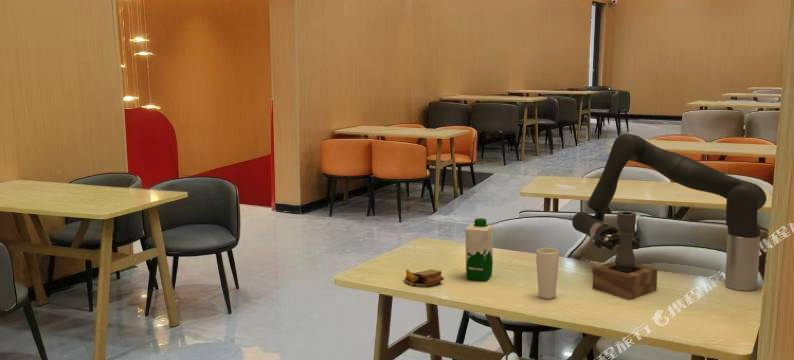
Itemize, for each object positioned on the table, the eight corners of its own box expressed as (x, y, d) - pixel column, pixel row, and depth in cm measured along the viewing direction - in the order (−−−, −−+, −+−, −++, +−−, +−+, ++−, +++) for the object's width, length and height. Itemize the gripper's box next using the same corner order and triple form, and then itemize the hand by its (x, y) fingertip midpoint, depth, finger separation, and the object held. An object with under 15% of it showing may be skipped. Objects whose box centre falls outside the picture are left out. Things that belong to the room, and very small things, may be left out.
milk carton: (494, 275, 241) (494, 219, 238) (488, 283, 233) (488, 224, 229) (470, 272, 244) (470, 217, 241) (463, 280, 236) (462, 223, 233)
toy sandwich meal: (431, 274, 244) (431, 261, 244) (449, 285, 232) (448, 271, 231) (398, 279, 240) (398, 266, 239) (415, 291, 227) (414, 277, 227)
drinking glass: (545, 301, 213) (546, 254, 211) (531, 295, 219) (532, 249, 217) (562, 297, 216) (563, 251, 214) (548, 291, 222) (549, 246, 220)
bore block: (619, 279, 232) (620, 259, 231) (656, 290, 221) (657, 269, 220) (592, 288, 224) (592, 267, 223) (629, 299, 213) (630, 277, 212)
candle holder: (635, 292, 219) (638, 215, 215) (615, 292, 220) (617, 215, 216) (633, 286, 225) (635, 211, 221) (613, 285, 226) (615, 211, 222)
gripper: (584, 224, 236) (603, 236, 220) (625, 222, 237) (646, 234, 221) (584, 246, 237) (603, 259, 221) (624, 244, 238) (646, 256, 222)
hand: (624, 246), depth 221 cm, fingers open, 8 cm apart
